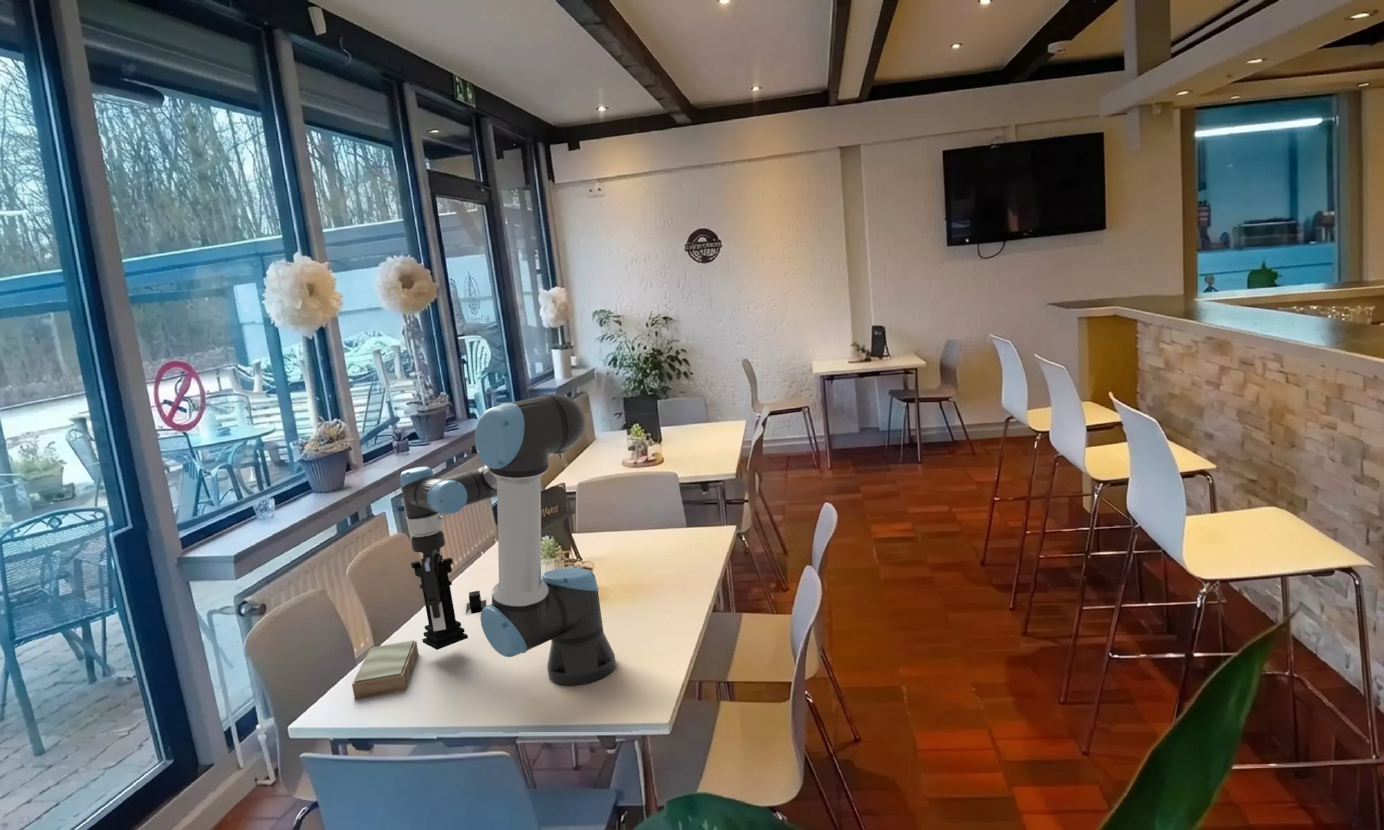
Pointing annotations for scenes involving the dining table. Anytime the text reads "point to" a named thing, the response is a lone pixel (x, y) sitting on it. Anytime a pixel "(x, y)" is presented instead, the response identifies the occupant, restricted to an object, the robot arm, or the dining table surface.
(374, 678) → the walnut stand
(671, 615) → the dining table surface
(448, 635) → the chess piece
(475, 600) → the black blocky piece
